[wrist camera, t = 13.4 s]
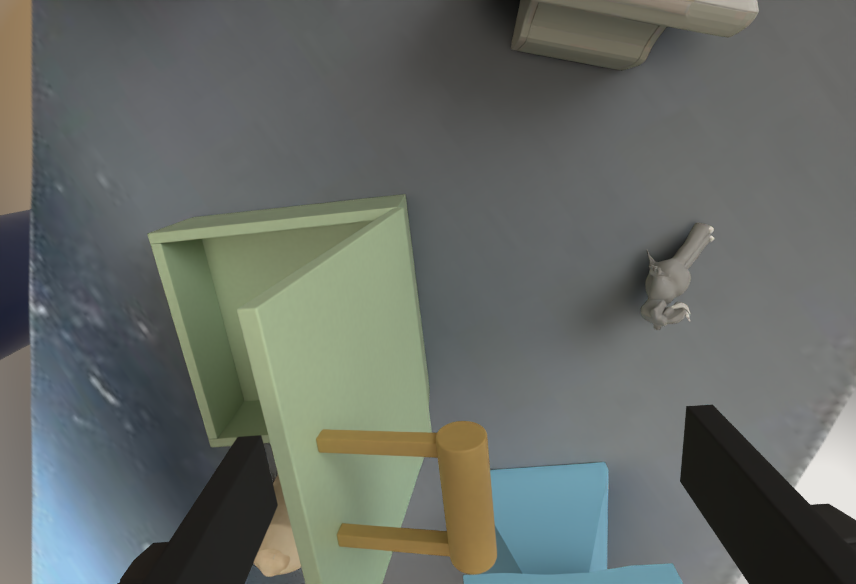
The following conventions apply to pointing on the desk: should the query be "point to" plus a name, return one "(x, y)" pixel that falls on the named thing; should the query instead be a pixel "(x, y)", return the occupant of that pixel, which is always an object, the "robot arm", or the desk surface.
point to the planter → (557, 530)
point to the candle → (278, 542)
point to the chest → (246, 292)
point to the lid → (361, 414)
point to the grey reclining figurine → (673, 279)
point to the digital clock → (619, 26)
